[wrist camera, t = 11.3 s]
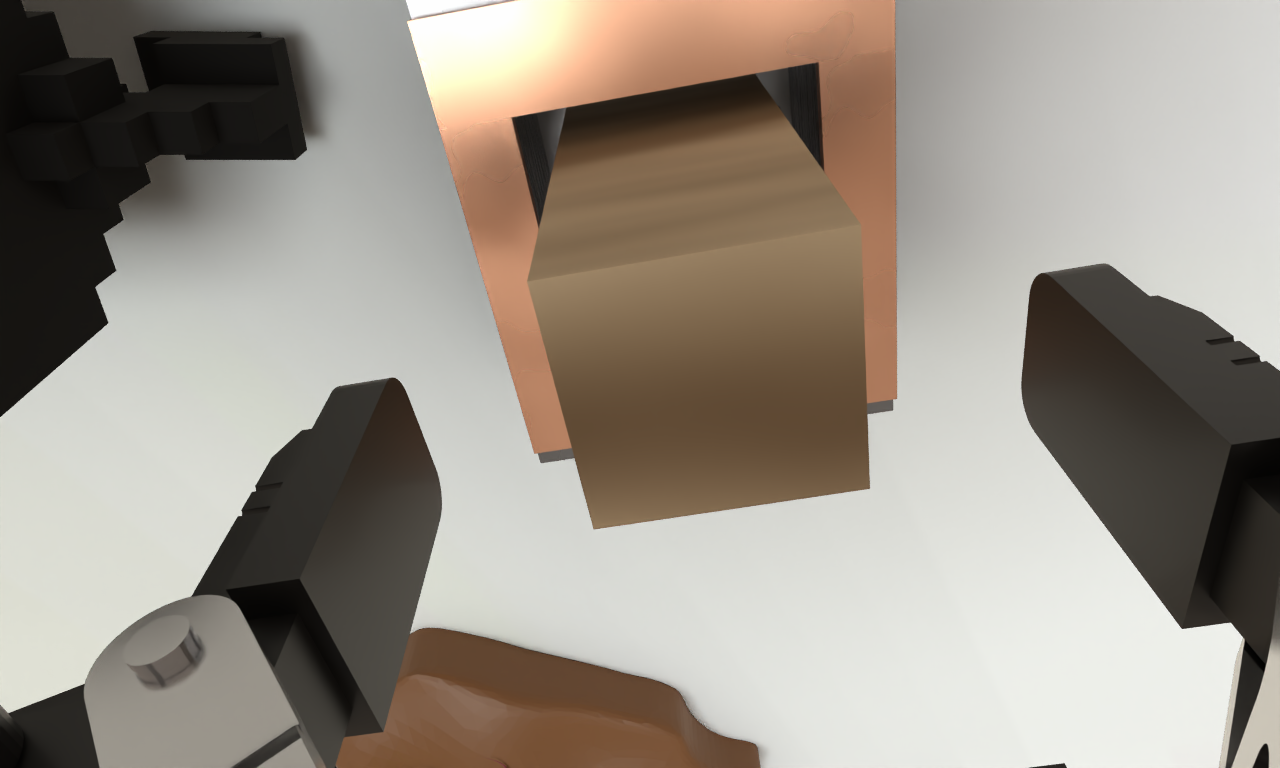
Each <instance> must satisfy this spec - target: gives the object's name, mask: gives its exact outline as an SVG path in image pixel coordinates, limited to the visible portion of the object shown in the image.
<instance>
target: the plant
mask: <svg viewBox="0 0 1280 768" xmlns="http://www.w3.org/2000/svg"><path fill="white" fill-rule="evenodd" d="M336 765H337V767H338V768H760V761H759V755H758V748H757V746H756V745H755V744H753V743H751V742H747V741H742V740H737V739H732V738H727V737H724V736H721V735H718V734H716V733H714V732H712V731H710V730H708V729H707V728H706V727H704V726H703V725H702V724H701V723H699V722H698V721H697V720H696V719H695V718H694V717H693V716H692V714H691V713H690V711H689V710H688V708H687V706H686V704H685V702H684V700H683V698H682V696H681V694H680V693H679V692H678V691H677V690H676V689H674V688H673V687H670V686H668V685H666V684H664V683H661V682H658V681H655V680H652V679H648V678H644V677H639V676H634V675H630V674H625V673H621V672H618V671H614V670H611V669H607V668H603V667H599V666H595V665H591V664H587V663H583V662H579V661H574V660H570V659H566V658H561V657H557V656H553V655H548V654H544V653H540V652H535V651H532V650H528V649H523V648H520V647H517V646H513V645H510V644H507V643H503V642H500V641H496V640H492V639H488V638H484V637H480V636H476V635H471V634H467V633H462V632H457V631H452V630H446V629H440V628H423V629H419V630H417V631H415V632H413V633H411V634H410V635H409V638H408V642H407V646H406V650H405V653H404V657H403V661H402V665H401V668H400V672H399V676H398V680H397V683H396V687H395V691H394V695H393V698H392V702H391V706H390V710H389V713H388V717H387V721H386V725H385V728H384V732H380V733H373V734H365V735H358V736H350V737H344V739H343V742H342V745H341V749H340V752H339V755H338V758H337V762H336Z"/></svg>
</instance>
